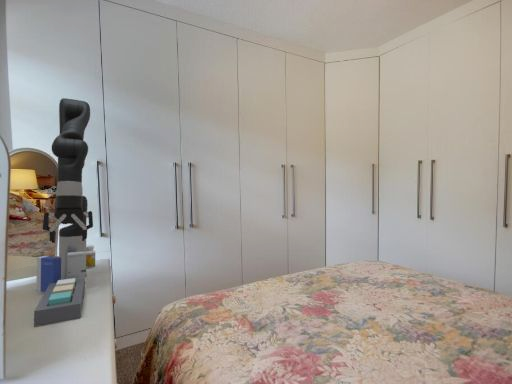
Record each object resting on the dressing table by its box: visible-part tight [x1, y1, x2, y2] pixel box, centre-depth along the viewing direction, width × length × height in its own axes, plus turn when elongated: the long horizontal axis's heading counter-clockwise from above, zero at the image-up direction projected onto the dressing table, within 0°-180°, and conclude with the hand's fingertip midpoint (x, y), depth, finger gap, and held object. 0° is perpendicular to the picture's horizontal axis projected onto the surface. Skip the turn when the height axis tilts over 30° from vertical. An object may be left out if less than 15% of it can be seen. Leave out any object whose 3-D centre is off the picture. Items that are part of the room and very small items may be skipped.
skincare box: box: [66, 251, 87, 280], centre depth 101 cm, size 6×4×12 cm
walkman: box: [35, 255, 61, 293], centre depth 95 cm, size 8×3×12 cm, turn 75°
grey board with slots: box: [33, 278, 86, 327], centre depth 82 cm, size 24×10×4 cm, turn 30°
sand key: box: [53, 284, 74, 294], centre depth 82 cm, size 5×5×4 cm
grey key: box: [56, 278, 75, 287], centre depth 88 cm, size 5×5×4 cm
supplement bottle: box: [86, 244, 96, 270], centre depth 125 cm, size 5×5×10 cm
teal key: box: [49, 291, 72, 306], centre depth 76 cm, size 5×5×4 cm
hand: (68, 241), depth 93 cm, fingers open, 8 cm apart
